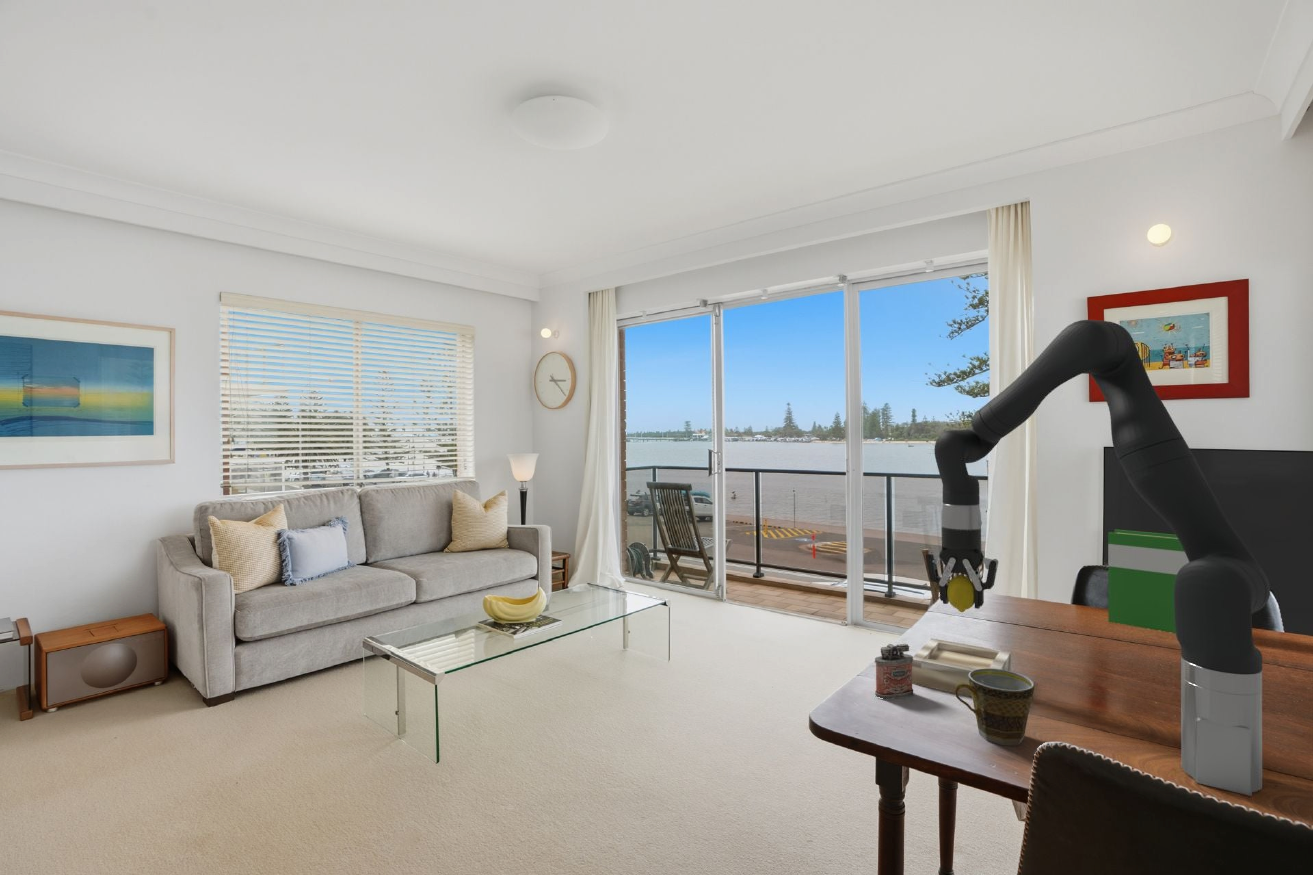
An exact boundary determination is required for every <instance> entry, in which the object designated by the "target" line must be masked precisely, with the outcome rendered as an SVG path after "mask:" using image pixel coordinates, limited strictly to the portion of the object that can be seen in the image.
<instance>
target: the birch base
mask: <svg viewBox="0 0 1313 875" xmlns="http://www.w3.org/2000/svg"><path fill="white" fill-rule="evenodd" d="M976 669H1001V670H1007V671H1011V672H1012V652H1011V651H1006V650H1000V649H995V648H989V647H982V646H977V645H971V644H966V643H959V642H955V641H947V640H943V639H938V638H932V637H931V638H930V639H929V640H928V641H927V642H926V643H925V644H924V645H923V646H922V647H921V648H920V649H919V650H918V651H917V652H916V653H915V654H914V656H913V662H912V685H918V686H923V687H927V688H930V689H935V688H936V689H935V690H940V691H944V692H945V691H946V692H950V693H954V694H955V688H956V686H957V685H958V684H960V683H966V684H968V685H970V684H969V677H968V675H969V673H970V672H971V671H973V670H976ZM958 695H963V696H967V697H971V698H972V694H971V692H970V690H969V689H968V688H960V689H959V690H958Z"/></svg>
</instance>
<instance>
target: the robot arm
mask: <svg viewBox="0 0 1313 875" xmlns="http://www.w3.org/2000/svg"><path fill="white" fill-rule="evenodd" d="M1039 354H1040V355H1038V356H1037V357H1036V358H1035V359H1034V360H1033V362H1031V364H1029V366H1028V367H1027V368H1026V369H1025V370H1024V371H1023V372H1022V373H1020V375H1019V376H1018V377H1017V378H1016V379H1015V380H1014V381H1013V382H1011V383H1010V384H1009V386H1007V387H1006V388H1005V389H1004V390H1002V391H1001V392H999V393H998V394H997V395H996V396H994V398H992V399H991V400H989V402H987V403H986V404H985V405H983V406H982V407H980V409H979V410H977V411H976V412H975V413H974V415H972V418H971V422H970V423H971V426H970V427H969V426H968V427H967V428H966V429H952V430H951V429H949V430H946V431H945V430H944V431H943V432H941V433H940V434H939V435H938V436H937V438H936V441H935V445H934V450H933V452H934V458H935V462H936V465H937V466H936V467H937V470H938V473H939V478H940V480H941V483H942V508H941V513H940V514H941V518H940V519H941V520H940V522H941V550H940V552H937V553H934V552H933V551H932V552H929V553H927V554H926V555H925V560H926V564H927V570H928V575H929V579H930V580H929V581H930V582H931V583H935V584H938V586H939V599H940V601H941V602H942V604H943V605H948V604H950V602H949V600H948V597H947V587H948V584H949V582H950V580H951V576H952V575H953V574H958V575H959V574H962V575H964V576H969V577H968V578H969V579H970V580H971V581H972V582H973V584H974V586H975V603H974V609H977V610H979V609H980V608H981V607H983V605H984V603H985V602H984V600H985V595H984V594H985V593H984V592H985V590H991V589H992V588H993V587H994V586H995V581H996V576H997V571H998V566H999V560H998V558H997V559H996V558H993V559H991V558H988V557H985V556H984V555H983V553H982V524H983V523H982V522H983V521H982V512H981V508H980V507H981V506H980V504H981V503H980V502H981V501H980V482H979V479H978V478H977V477H975V476H973V475H969V473H968V467H967V464H972V463H973V464H974V463H975V462H978V461H981V460H982V459H983V458H985V457H986V456H988V454H990V452H991V451H993V449H994V448H995V447H996V446H997V445H998V444H999V442H1000V440H1002V438H1004V437H1006V436H1007V435H1009V434H1010V433H1012V432H1013V431H1014V430H1016V429H1017V428H1018V427H1020V426H1021V425H1023V424H1024V423H1025V422H1026V421H1027V420H1029V418H1030V417H1031V416H1032V415H1034V413H1035V412H1036V411H1037V409H1038V408H1039V406H1040V405H1041V403H1042V402H1043V401H1044V400H1045V399H1046V397H1047V396H1048V395H1049V394H1050V393H1052V392H1053V391H1054V390H1056V389H1057V388H1058V387H1060V386H1061V385H1063V384H1064V383H1066V382H1068V381H1069V380H1072V379H1074V378H1075V377H1079V375H1082V374H1086V375H1087V374H1089V375H1090V376H1091V378H1092V379H1093V380H1094V382H1095V384H1097V386H1098V388H1099V390H1100V392H1101V393H1102V395H1103V397H1104V399H1105V402H1106V404H1107V406H1108V410H1109V411H1108V412H1109V418H1110V430H1111V440H1112V446H1113V450H1114V452H1115V455H1116V457H1117V459H1118V461H1119V463H1120V465H1121V467H1122V469H1123V471H1124V473H1125V475H1126V477H1127V479H1128V481H1129V482H1130V484H1131V485H1132V487H1133V489H1134V490H1135V491H1136V493H1137V494H1138V495H1139V496H1140V497H1141V498H1142V499H1143V500H1144V501H1145V502H1146V504H1147V505H1149V507H1150V508H1152V510H1153V511H1154V512H1156V514H1157V515H1158V516H1160V517H1161V519H1162V520H1163V521H1164V522H1165V523H1166V524H1167V525H1168V526H1169V528H1170V529H1171V530H1172V532H1173V533H1174V535H1176V536H1177V538H1178V540H1179V541H1180V543H1181V545H1182V547H1183V549H1184V551H1185V554H1186V556H1187V558H1188V560H1189V563H1187V564H1186V565H1184V566H1183V567H1182V568H1181V569H1180V570H1179V572H1178V573H1177V576H1176V578H1175V583H1174V614H1175V631H1176V634H1175V636H1176V639H1177V642H1178V643H1179V645H1180V652H1181V653H1180V661H1181V662H1180V667H1181V668H1180V669H1181V671H1180V672H1181V673H1180V687H1181V688H1180V709H1181V710H1180V711H1181V713H1180V729H1181V730H1180V736H1181V737H1180V742H1181V744H1180V746H1181V748H1180V749H1181V750H1180V752H1181V753H1180V754H1181V763H1180V764H1181V769H1182V770H1183V771H1184V772H1185V774H1187V775H1189V777H1192V779H1194V781H1195V783H1197V784H1200V785H1205V786H1208V787H1211V788H1212V787H1213V788H1216V789H1220V790H1224V791H1229V792H1233V793H1237V794H1241V795H1245V796H1249V797H1251V796H1253V793H1256V792H1259V791H1260V790H1262V788H1263V655H1262V652H1261V650H1260V649H1259V648H1258V647H1257V646H1255V644H1254V640H1253V624H1252V623H1253V620H1252V619H1253V618H1252V617H1253V616H1252V614H1254V613H1256V612H1259V611H1260V610H1261V609H1263V608H1264V607H1265V606H1266V604H1267V603H1268V601H1269V599H1270V596H1271V588H1270V587H1271V586H1270V582H1269V579H1268V577H1267V575H1266V573H1265V571H1264V570H1263V568H1262V567H1261V565H1260V564H1259V563H1258V561H1257V560H1256V559H1255V557H1254V555H1253V554H1252V553H1251V552H1250V550H1249V549H1248V547H1247V546H1246V545H1245V543H1244V542H1243V540H1242V539H1241V538H1240V536H1239V535H1238V533H1237V532H1236V530H1234V528H1233V526H1232V524H1231V523H1230V522H1229V521H1228V519H1227V517H1226V515H1225V513H1224V511H1223V510H1222V507H1221V506H1220V504H1219V501H1218V498H1216V496H1215V494H1214V492H1213V490H1212V487H1211V486H1210V485H1209V483H1208V480H1207V479H1206V477H1205V475H1204V473H1203V472H1202V470H1201V468H1200V466H1199V464H1198V462H1197V460H1196V458H1195V456H1194V454H1193V453H1192V450H1191V449H1190V447H1189V444H1188V443H1187V441H1186V439H1185V438H1184V436H1183V435H1182V433H1181V432H1180V430H1179V428H1178V427H1177V425H1176V424H1175V422H1174V420H1173V418H1172V417H1171V415H1170V413H1169V412H1168V409H1167V408H1166V406H1165V405H1164V402H1163V401H1162V399H1161V398H1160V396H1159V394H1158V393H1157V391H1156V390H1155V388H1154V386H1153V383H1152V381H1151V380H1150V378H1149V376H1148V373H1147V370H1146V368H1145V365H1144V363H1143V360H1142V358H1141V355H1140V353H1139V350H1138V348H1137V345H1136V343H1135V341H1134V338H1133V337H1132V335H1131V334H1130V332H1129V331H1128V330H1127V329H1126V328H1125V327H1123V326H1122V325H1120V324H1119V323H1116V322H1113V321H1107V320H1099V319H1098V320H1097V319H1081V320H1077V321H1074V322H1072V323H1070V324H1068V325H1067V326H1066V327H1065V328H1063V330H1062V331H1060V332H1059V333H1058V334H1057V335H1056V336H1055V338H1054V339H1053V340H1052V341H1051V342H1050V343H1049V344H1048V345H1047V347H1045V348H1044V349H1043V351H1041V353H1039ZM939 559H940V560H941V562H942V563H943V564H944V566H945V569H944V571H943V573H942V576H940V575H939V569H938V565H937V564H938V563H939ZM982 563H983V564H984V567H985V569H986V570H988V571H987V573H986V574H987V575H986V579H985V582H983V579H982V577H981V574H980V571H979V570H978V568H979V567H980V566H981V565H982ZM1258 790H1259V791H1258Z"/></svg>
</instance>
